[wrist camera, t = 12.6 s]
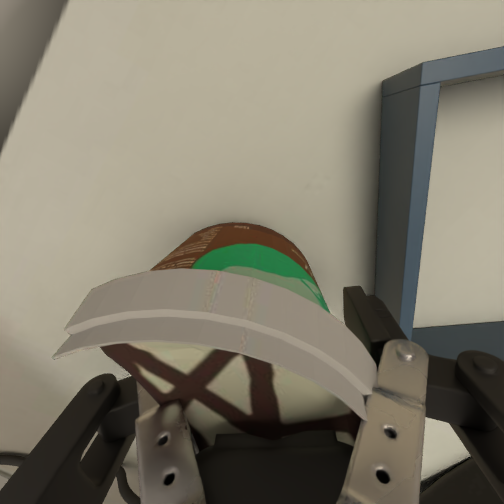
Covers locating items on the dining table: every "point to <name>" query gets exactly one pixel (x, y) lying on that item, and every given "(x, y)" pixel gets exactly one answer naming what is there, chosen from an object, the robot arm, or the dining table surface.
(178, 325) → the food container
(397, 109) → the blue rectangular frame
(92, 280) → the dining table surface
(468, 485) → the magazine
